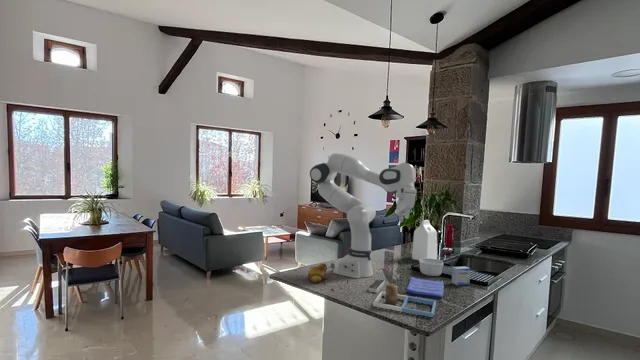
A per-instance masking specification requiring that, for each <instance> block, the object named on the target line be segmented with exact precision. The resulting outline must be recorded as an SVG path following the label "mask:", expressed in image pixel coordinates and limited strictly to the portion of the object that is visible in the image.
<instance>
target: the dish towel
mask: <svg viewBox="0 0 640 360" xmlns="http://www.w3.org/2000/svg"><path fill="white" fill-rule="evenodd" d="M444 283H445V282H444V281H439V280H431V279H421V278H418V277H414V276H410V279H409V282H408V285H407V288H406V290H405V291H404V293H405V294H407V295H412V296H417V297H418V296H420V297H425V298H431V299H439V300H442V299H443V297H444V290H445V289H444V288H445V284H444Z"/></svg>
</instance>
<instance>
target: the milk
mask: <svg viewBox="0 0 640 360" xmlns="http://www.w3.org/2000/svg"><path fill="white" fill-rule="evenodd" d="M430 222H431V221H430V219H424V220H422V221H421V224H420V225H419V226H418V227H416V229H415V230H414V231H413V239H412V241H413V242H412V251H411V253H412V255H411V259H412V260H416V261H419V260H420V259H424V258H431V259H437V260H438V232H437V230H436V229H435V228H434V227H433V226H432V225H431V223H430Z"/></svg>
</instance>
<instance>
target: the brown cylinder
mask: <svg viewBox="0 0 640 360" xmlns="http://www.w3.org/2000/svg"><path fill="white" fill-rule="evenodd" d="M385 292H386V297H385V299H384V300H385V301H384V302H385V303H386V304H389V305H396V304H397V305H398V299H397V294H398V285H397V284H394V283H387V284H386V285H385ZM385 303H384V304H385ZM397 305H396V306H397Z"/></svg>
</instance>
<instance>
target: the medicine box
mask: <svg viewBox="0 0 640 360" xmlns="http://www.w3.org/2000/svg"><path fill="white" fill-rule="evenodd" d="M470 280H471V268H470V267H468V266H465V265H464V266H463V265H462V266H452V267H451V283H452V284H453V285H456V286H468V285H470V282H471V281H470Z"/></svg>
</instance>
